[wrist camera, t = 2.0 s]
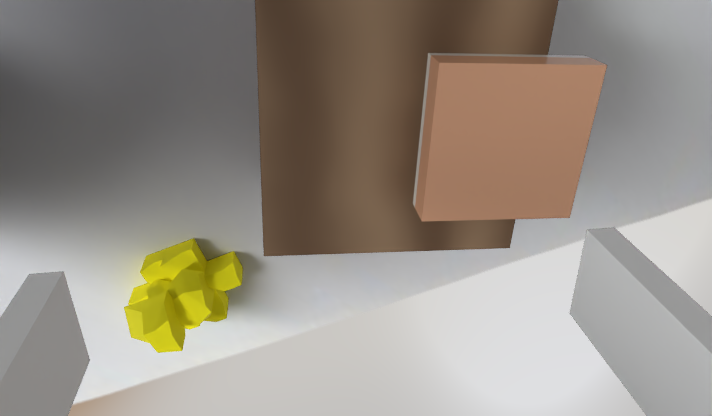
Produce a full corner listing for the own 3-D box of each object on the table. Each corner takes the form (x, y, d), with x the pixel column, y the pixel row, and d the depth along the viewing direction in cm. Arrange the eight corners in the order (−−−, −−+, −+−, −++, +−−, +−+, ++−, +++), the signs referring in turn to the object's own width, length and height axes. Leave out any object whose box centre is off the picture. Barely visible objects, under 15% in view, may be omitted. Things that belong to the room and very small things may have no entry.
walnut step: (264, 179, 40) (263, 256, 31) (258, -39, 33) (254, -21, 24) (458, 176, 41) (509, 248, 33) (487, -30, 35) (560, -11, 26)
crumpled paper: (254, 288, 44) (251, 357, 37) (158, 323, 44) (138, 398, 37) (221, 227, 41) (211, 290, 34) (119, 265, 41) (89, 335, 34)
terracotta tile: (412, 203, 30) (421, 221, 29) (428, 52, 27) (439, 62, 25) (552, 200, 32) (569, 217, 30) (585, 55, 28) (607, 65, 26)
